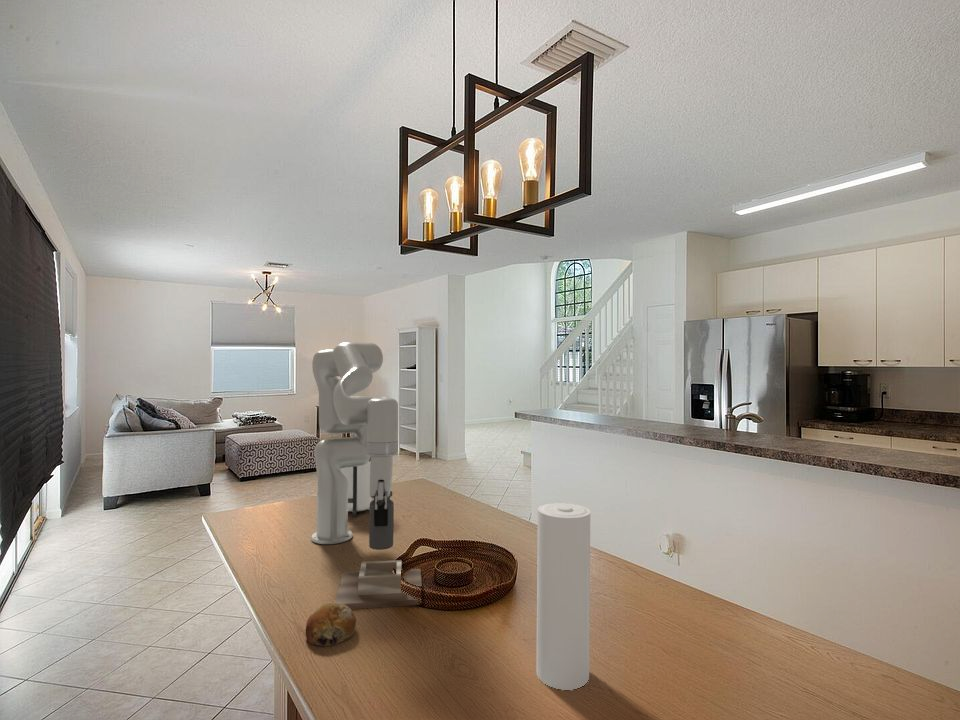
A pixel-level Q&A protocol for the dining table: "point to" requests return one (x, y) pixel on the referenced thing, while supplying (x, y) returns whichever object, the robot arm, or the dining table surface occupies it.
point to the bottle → (381, 527)
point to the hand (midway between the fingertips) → (381, 521)
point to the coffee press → (358, 487)
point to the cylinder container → (563, 595)
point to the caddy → (377, 585)
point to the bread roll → (330, 624)
